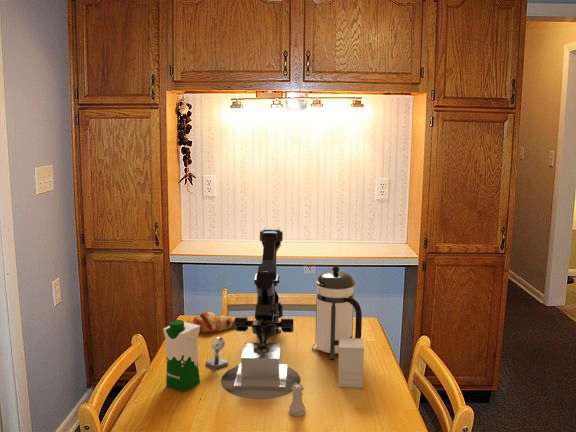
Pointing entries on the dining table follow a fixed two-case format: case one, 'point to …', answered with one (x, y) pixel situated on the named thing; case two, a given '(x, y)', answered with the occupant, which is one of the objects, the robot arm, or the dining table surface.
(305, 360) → the dining table surface
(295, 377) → the platter
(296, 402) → the rook chess piece
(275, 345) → the cover
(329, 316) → the coffee press
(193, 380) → the milk carton
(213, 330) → the croissant
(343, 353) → the supplement box
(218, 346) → the rubber stamp
